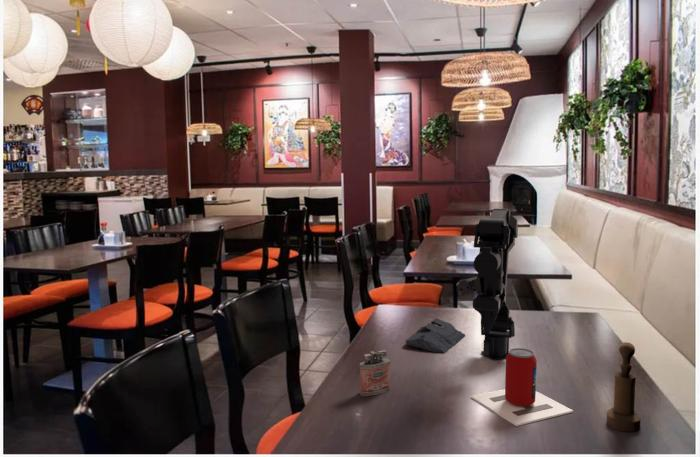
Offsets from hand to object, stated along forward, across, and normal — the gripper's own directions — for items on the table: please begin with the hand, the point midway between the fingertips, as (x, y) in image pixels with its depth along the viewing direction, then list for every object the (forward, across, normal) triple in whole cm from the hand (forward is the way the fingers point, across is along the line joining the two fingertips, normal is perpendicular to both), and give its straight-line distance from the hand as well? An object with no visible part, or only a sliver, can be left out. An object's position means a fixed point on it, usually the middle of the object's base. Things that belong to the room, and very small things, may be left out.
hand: (489, 328), depth 147 cm
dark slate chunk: (+14, -24, -20) cm, 34 cm away
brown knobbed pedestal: (+13, +18, +30) cm, 38 cm away
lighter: (+13, +19, -25) cm, 34 cm away
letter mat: (+13, +15, +9) cm, 22 cm away
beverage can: (+13, +15, +9) cm, 21 cm away
